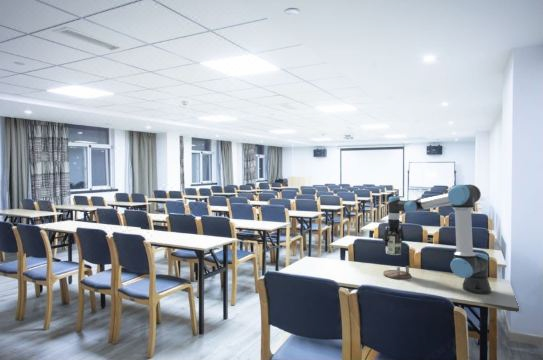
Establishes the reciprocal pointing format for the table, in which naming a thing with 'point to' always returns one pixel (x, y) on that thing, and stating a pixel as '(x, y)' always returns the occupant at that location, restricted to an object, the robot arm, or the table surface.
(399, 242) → the coffee can
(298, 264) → the table surface
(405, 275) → the locating disc
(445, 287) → the table surface
